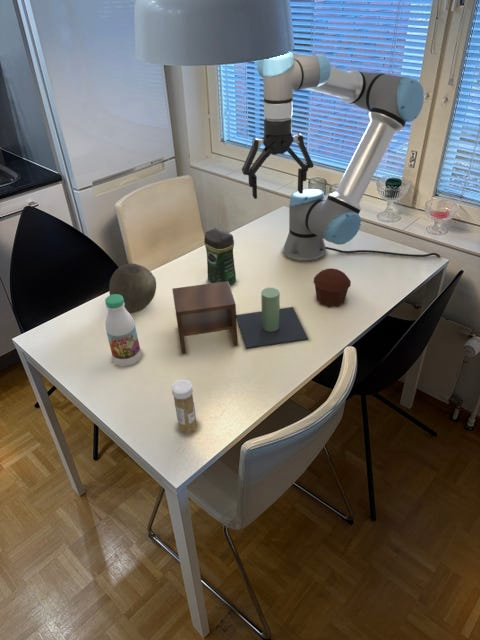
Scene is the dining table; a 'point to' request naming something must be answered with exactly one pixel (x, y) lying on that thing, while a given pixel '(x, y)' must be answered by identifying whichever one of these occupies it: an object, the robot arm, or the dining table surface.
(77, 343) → the dining table surface
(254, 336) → the felt mat
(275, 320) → the canister
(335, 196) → the robot arm
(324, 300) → the muffin
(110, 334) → the milk bottle
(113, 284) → the dimpled grey orange
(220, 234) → the coffee jar
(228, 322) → the wooden side table
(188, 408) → the sprinkles bottle
